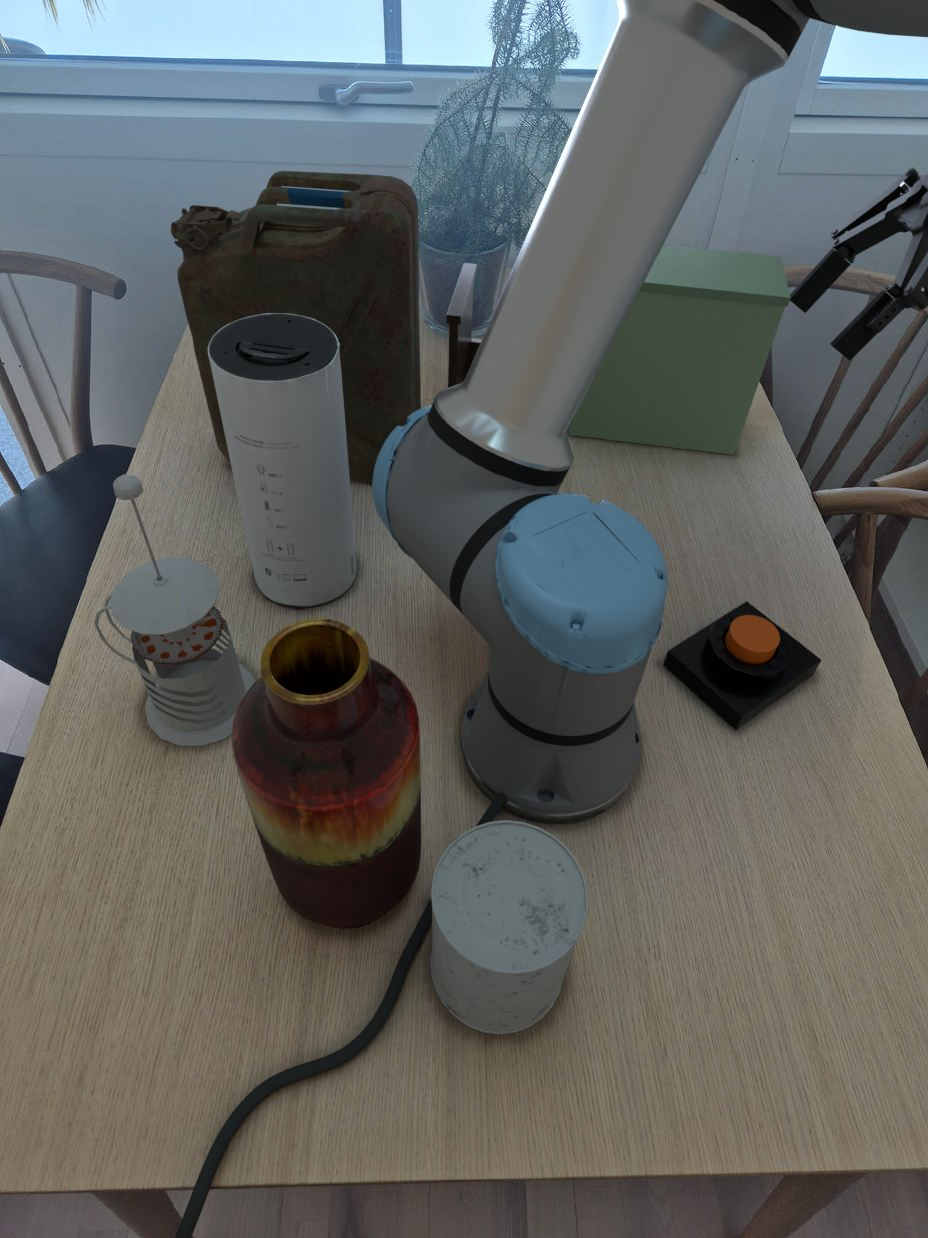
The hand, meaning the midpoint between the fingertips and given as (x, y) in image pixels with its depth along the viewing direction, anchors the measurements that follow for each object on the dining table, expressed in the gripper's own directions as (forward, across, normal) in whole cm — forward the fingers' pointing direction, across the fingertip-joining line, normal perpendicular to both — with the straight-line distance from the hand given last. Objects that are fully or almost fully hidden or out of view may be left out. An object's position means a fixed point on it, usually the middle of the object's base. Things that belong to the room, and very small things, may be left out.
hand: (816, 327), depth 89 cm
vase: (+46, -52, +27) cm, 74 cm away
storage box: (+20, +6, +4) cm, 22 cm away
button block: (+24, -32, -1) cm, 40 cm away
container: (+43, -1, +37) cm, 57 cm away
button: (+21, -33, +1) cm, 39 cm away
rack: (+30, +9, +19) cm, 37 cm away
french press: (+52, -36, +41) cm, 75 cm away
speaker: (+45, -20, +35) cm, 61 cm away
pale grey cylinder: (+40, -59, +17) cm, 73 cm away
